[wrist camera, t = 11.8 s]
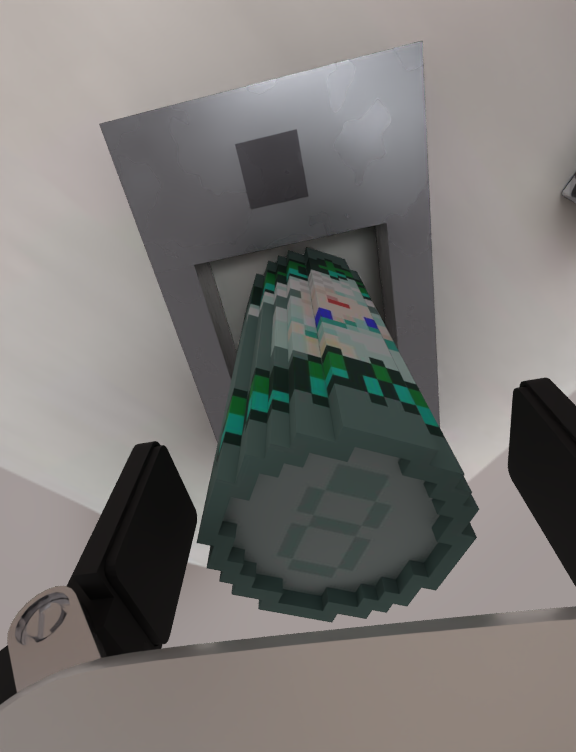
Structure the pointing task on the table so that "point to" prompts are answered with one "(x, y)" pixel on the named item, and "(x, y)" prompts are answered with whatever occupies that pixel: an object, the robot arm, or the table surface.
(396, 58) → the rail plate
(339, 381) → the can
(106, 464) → the table surface
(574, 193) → the label tape cartridge
